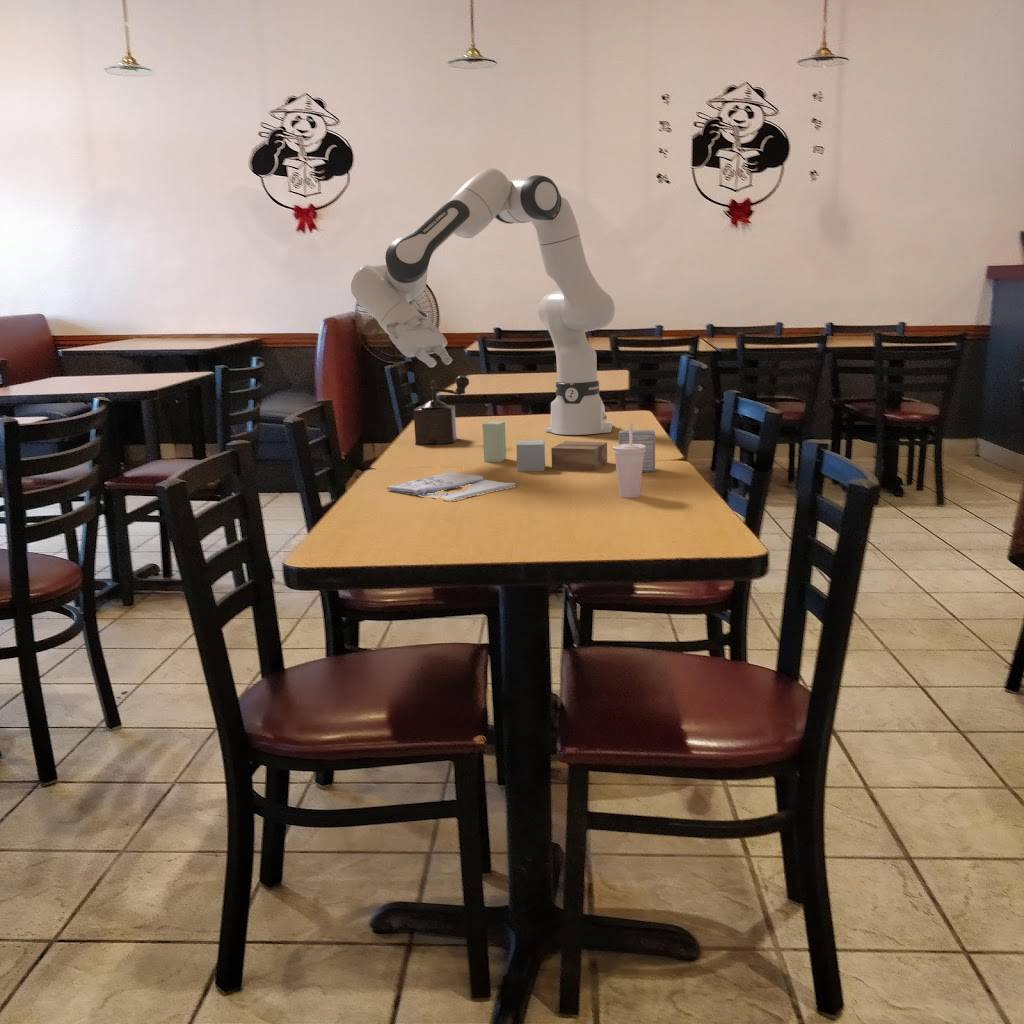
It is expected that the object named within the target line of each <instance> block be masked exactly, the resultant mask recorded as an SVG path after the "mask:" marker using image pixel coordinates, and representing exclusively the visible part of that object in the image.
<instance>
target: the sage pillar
mask: <svg viewBox="0 0 1024 1024" xmlns="http://www.w3.org/2000/svg"><path fill="white" fill-rule="evenodd" d="M482 438H483V439H482V440H483V441H482V442H483V445H482V447H483V462H484V463H485V462H487V463H501V462H503V461H505V460H506V459H507V444H506V443H507V442H506V439H507V438H506V421H491V420H490V421H487V422H484V423H482ZM504 459H505V460H504Z"/></svg>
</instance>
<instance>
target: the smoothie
mask: <svg viewBox="0 0 1024 1024" xmlns="http://www.w3.org/2000/svg"><path fill="white" fill-rule="evenodd" d="M628 425H629V444H619V443H618V444H615V445H613V446H612V453H614V462H615V467H616V468H615V470H616V475H617V482H618V483H617V484H618V490H619V491H618V492H619V497H621V498H623V499H625V498H626V499H632V498H633V499H634V498H638V497H640V493H641V485H642V476H643V472H642V469H643V461H644V452H646V446H645V445H642V444H632V430H633V423H629V424H628Z"/></svg>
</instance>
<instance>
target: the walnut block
mask: <svg viewBox="0 0 1024 1024" xmlns="http://www.w3.org/2000/svg"><path fill="white" fill-rule="evenodd" d="M550 454H551V470H570V471H571V470H574V471H577V470H578V471H596V470H597V469H600V468H601V467H603V466H604V465H606V464H607V463H608V441H607V442H606V441H604V442H603V441H577V440H575V441H574V440H572V441H571V440H570V441H569V440H566V441H563V442H561V443H559V444H557V445H555V446H552V447H551V453H550Z"/></svg>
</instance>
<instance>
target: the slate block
mask: <svg viewBox="0 0 1024 1024" xmlns="http://www.w3.org/2000/svg"><path fill="white" fill-rule="evenodd" d="M545 444H546V443H545V439H542V440H541V439H539V440H517V443H516V468H517V469H516V470H517V472H539V471H540V472H543V471H544V472H545V469H546V455H545V454H546V452H545V451H546V450H545V449H546V448H545V446H546V445H545Z"/></svg>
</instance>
